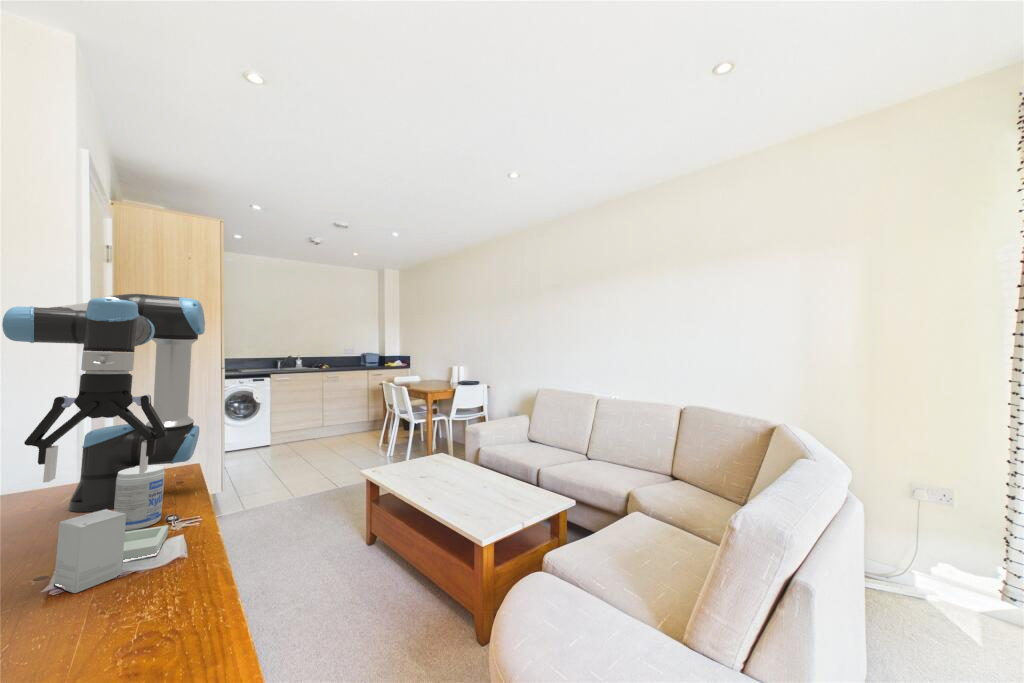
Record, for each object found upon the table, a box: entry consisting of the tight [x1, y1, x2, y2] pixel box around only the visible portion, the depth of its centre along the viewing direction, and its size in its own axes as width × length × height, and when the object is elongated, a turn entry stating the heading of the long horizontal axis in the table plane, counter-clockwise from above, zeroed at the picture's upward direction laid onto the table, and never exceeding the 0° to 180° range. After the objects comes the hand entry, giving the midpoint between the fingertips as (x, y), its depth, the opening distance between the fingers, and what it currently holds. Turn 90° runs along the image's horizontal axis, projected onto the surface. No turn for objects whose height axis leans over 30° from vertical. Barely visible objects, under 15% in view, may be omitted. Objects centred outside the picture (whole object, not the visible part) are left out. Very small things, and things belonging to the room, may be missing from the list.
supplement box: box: [53, 509, 126, 594], centre depth 78 cm, size 7×7×13 cm
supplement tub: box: [113, 464, 166, 532], centre depth 104 cm, size 10×10×15 cm
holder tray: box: [123, 524, 170, 560], centre depth 90 cm, size 12×12×2 cm
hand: (98, 476), depth 79 cm, fingers open, 13 cm apart
